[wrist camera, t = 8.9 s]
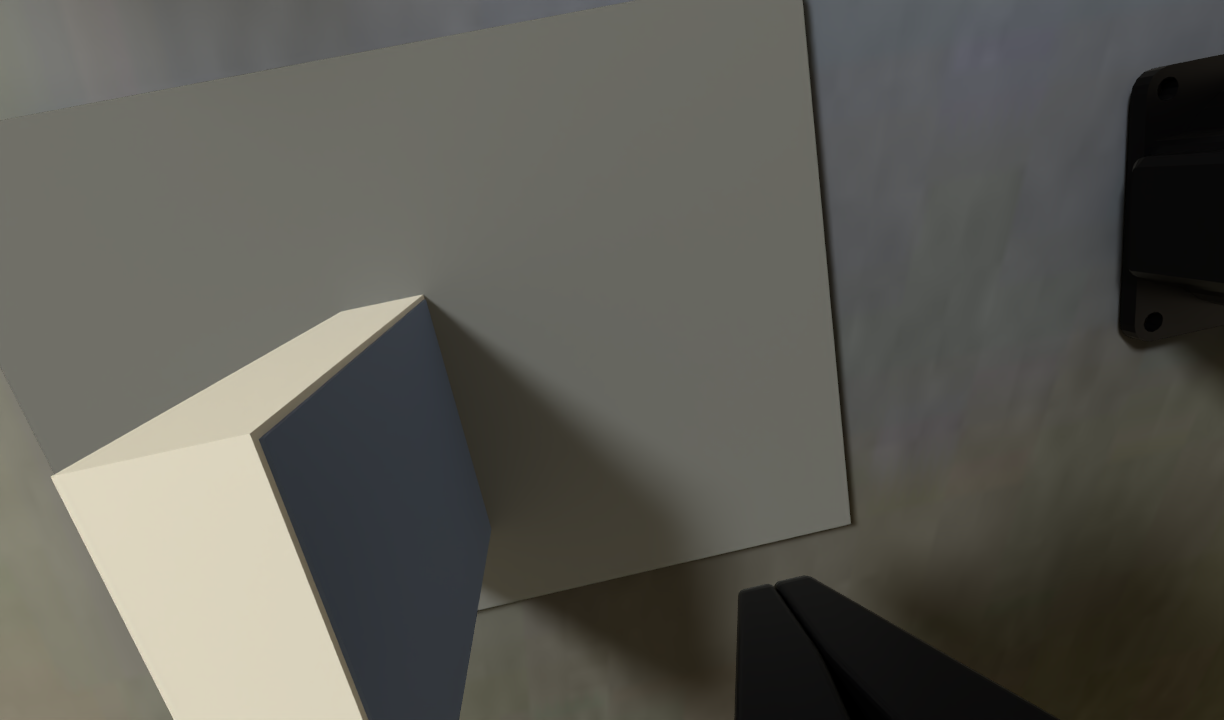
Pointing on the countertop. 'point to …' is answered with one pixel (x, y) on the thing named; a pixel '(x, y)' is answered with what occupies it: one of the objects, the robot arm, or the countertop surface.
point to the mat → (472, 267)
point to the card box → (299, 531)
